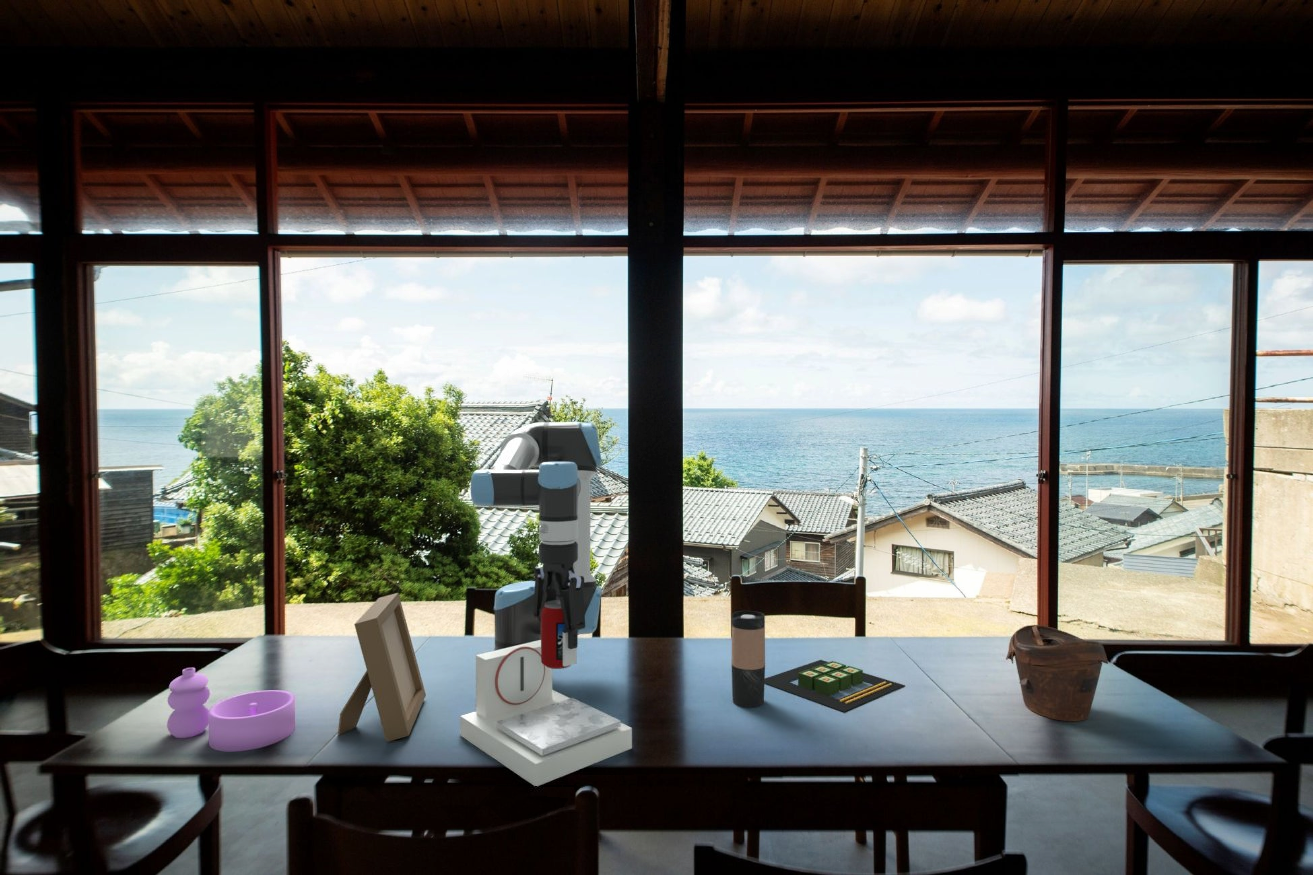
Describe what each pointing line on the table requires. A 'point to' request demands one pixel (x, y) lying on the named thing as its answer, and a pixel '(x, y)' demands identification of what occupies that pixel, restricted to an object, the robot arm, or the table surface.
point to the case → (1056, 671)
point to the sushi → (831, 684)
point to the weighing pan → (557, 725)
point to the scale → (520, 687)
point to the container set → (229, 715)
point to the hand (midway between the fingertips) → (558, 659)
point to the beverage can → (552, 635)
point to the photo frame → (386, 671)
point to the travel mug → (748, 658)
